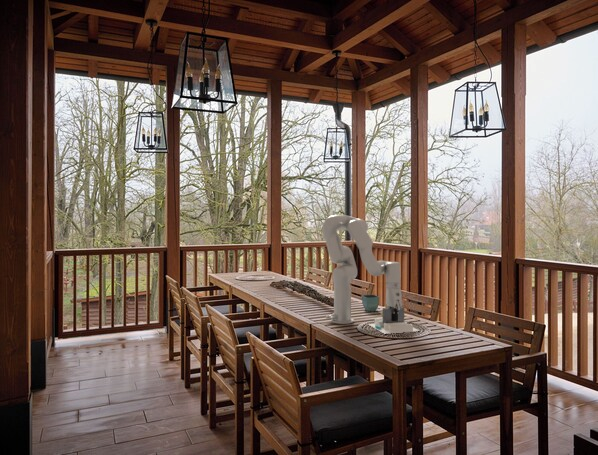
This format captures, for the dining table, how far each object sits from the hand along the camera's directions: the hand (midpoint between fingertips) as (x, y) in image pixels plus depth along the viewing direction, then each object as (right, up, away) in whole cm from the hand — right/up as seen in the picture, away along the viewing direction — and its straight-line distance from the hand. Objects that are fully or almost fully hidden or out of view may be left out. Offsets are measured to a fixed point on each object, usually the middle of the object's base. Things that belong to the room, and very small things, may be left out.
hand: (393, 319), depth 247 cm
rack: (0, -5, 0) cm, 5 cm away
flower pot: (-5, -3, +44) cm, 45 cm away
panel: (0, -2, 0) cm, 2 cm away
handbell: (+5, -4, +33) cm, 34 cm away
